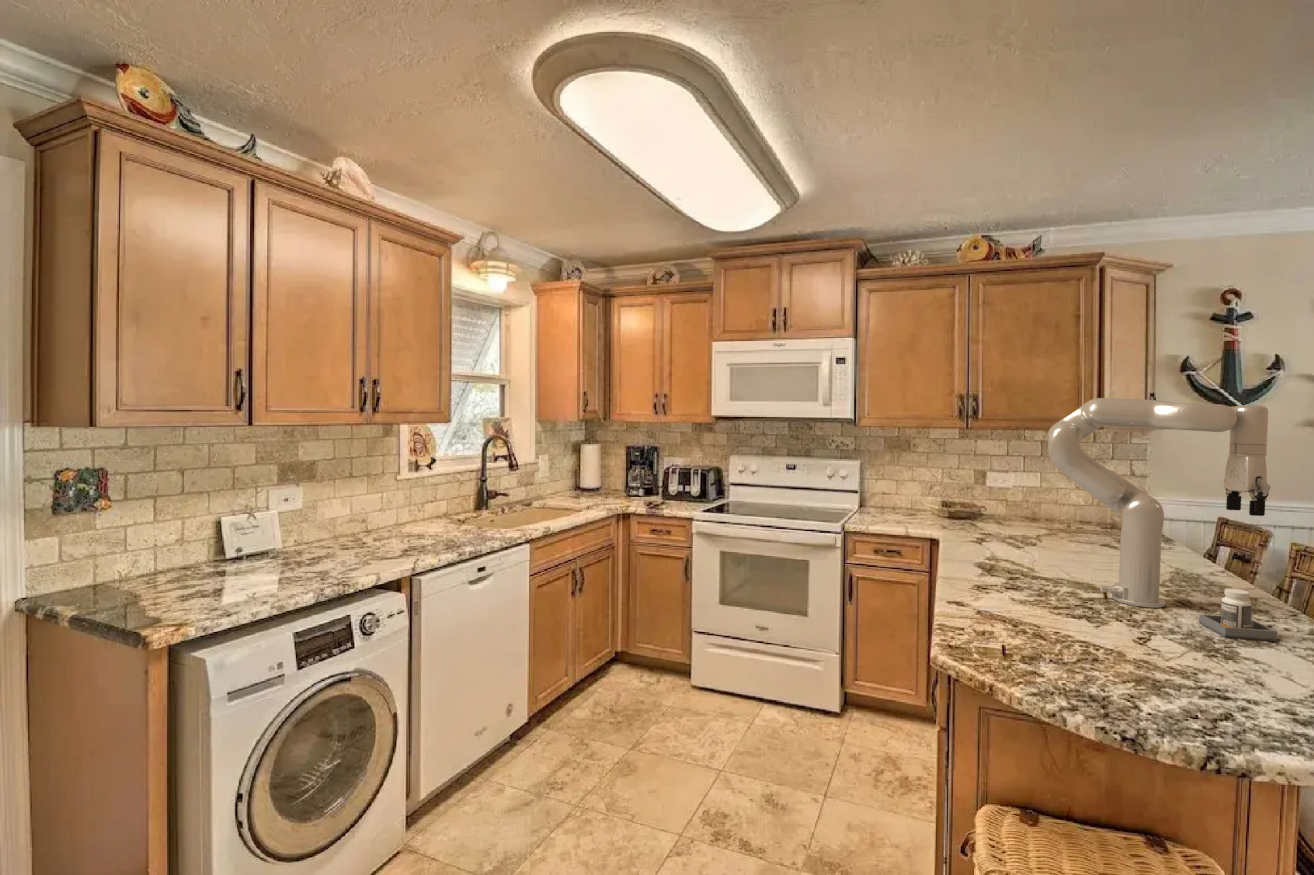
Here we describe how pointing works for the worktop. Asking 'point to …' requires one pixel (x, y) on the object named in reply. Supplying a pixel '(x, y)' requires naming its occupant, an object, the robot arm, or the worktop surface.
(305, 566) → the worktop surface
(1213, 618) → the tray
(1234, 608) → the pill bottle
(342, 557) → the worktop surface
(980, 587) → the worktop surface
